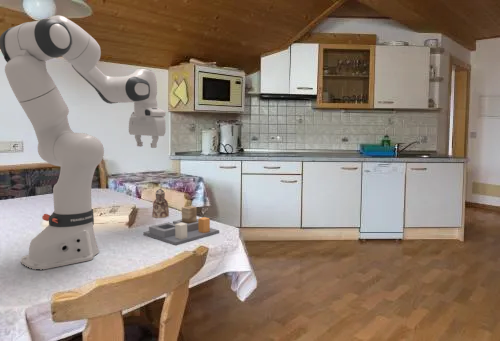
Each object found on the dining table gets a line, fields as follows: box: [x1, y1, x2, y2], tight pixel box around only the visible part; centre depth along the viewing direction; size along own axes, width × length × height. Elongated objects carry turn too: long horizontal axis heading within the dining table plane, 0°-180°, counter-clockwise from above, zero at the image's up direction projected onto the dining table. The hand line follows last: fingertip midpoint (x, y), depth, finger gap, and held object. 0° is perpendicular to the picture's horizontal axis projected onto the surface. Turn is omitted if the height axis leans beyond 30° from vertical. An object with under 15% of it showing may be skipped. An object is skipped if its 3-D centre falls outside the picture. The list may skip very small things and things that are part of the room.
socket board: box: [143, 216, 220, 246], centre depth 160 cm, size 21×19×6 cm
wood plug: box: [181, 205, 198, 224], centre depth 165 cm, size 4×4×8 cm
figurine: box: [151, 188, 170, 219], centre depth 187 cm, size 7×7×12 cm
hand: (146, 147), depth 168 cm, fingers open, 8 cm apart
